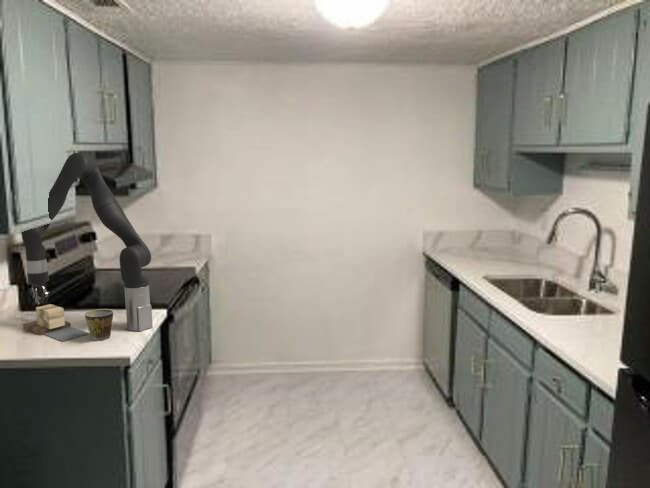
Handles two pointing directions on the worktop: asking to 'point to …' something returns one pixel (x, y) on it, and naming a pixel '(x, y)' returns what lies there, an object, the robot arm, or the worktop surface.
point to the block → (50, 316)
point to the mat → (66, 334)
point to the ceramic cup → (99, 323)
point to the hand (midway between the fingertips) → (41, 312)
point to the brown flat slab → (40, 329)
